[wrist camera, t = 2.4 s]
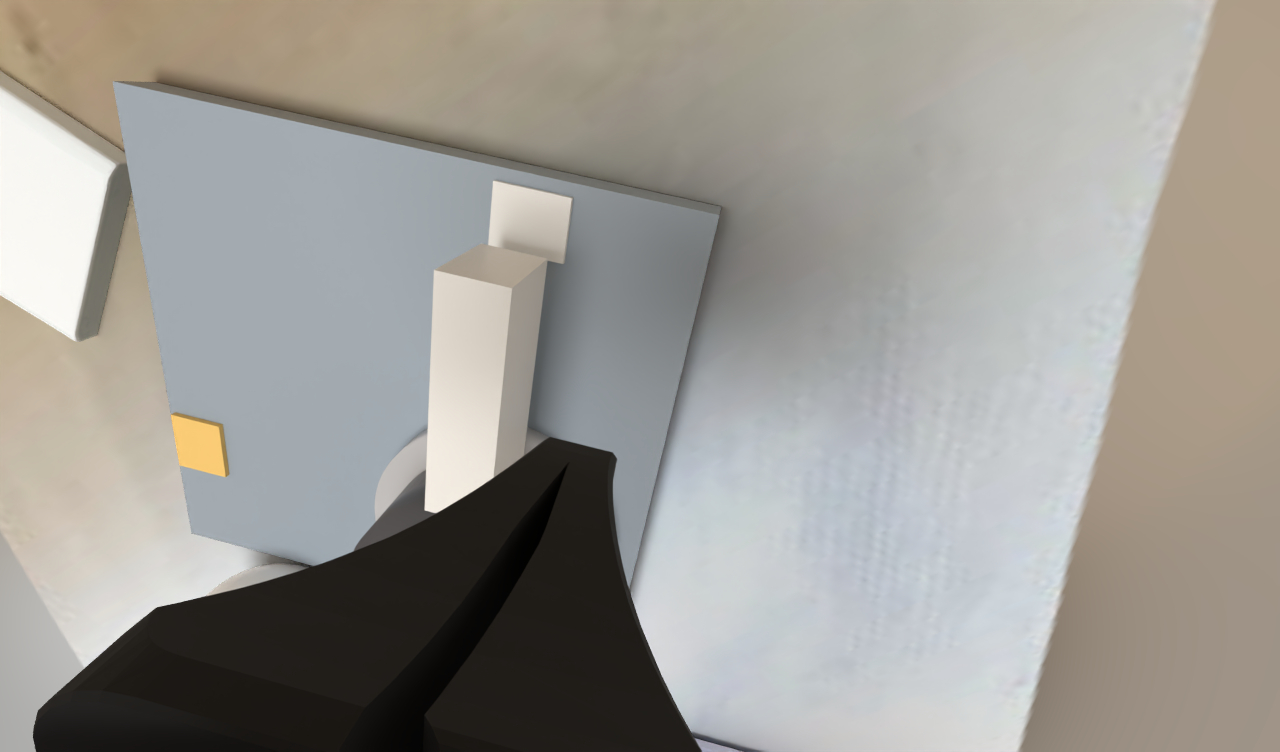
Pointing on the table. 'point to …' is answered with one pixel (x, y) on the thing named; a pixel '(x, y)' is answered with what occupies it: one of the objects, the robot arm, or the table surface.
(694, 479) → the table surface
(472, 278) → the cap
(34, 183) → the external hard drive
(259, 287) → the base
